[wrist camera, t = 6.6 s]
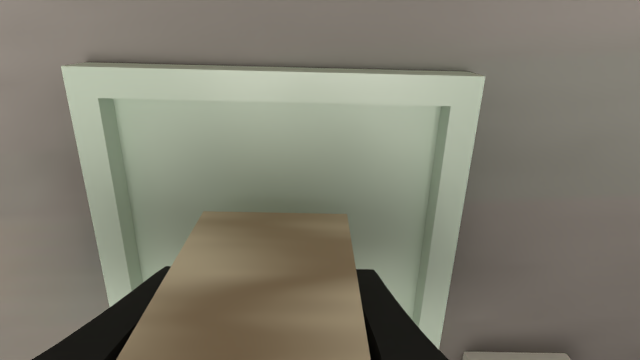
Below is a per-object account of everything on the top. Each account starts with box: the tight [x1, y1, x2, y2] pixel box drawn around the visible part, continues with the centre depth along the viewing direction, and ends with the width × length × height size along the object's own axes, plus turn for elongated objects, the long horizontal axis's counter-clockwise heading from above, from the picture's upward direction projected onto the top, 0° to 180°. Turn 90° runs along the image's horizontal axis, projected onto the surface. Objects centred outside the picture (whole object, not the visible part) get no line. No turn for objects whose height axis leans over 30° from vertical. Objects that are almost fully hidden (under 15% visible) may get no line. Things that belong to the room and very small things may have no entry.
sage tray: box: [61, 62, 485, 349], centre depth 13 cm, size 11×11×1 cm
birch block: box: [116, 211, 371, 360], centre depth 9 cm, size 4×4×6 cm
